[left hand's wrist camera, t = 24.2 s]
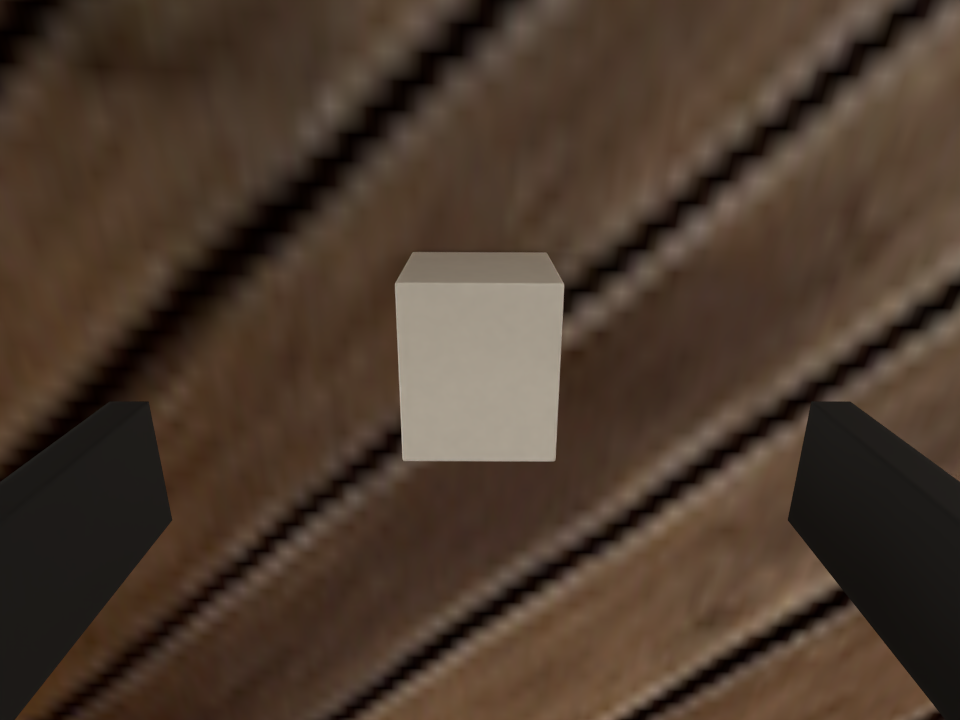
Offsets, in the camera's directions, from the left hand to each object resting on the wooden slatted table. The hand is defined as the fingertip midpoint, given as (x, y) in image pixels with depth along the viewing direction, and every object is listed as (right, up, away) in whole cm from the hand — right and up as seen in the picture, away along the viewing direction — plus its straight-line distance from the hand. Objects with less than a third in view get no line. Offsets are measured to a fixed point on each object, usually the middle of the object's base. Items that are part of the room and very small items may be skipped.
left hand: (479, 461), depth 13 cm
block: (0, +3, +8) cm, 9 cm away
